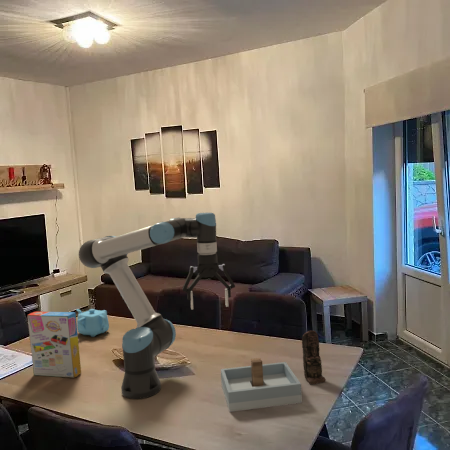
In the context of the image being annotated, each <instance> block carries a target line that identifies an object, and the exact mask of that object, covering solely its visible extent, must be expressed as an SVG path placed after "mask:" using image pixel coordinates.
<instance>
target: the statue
mask: <svg viewBox="0 0 450 450" xmlns="http://www.w3.org/2000/svg"><path fill="white" fill-rule="evenodd" d="M301 345H302V346H301V347H302V361H303V363H302V364H303V373H304V375H303V376H304V379H305V380H306V382H307V383H308V385H317V384H321V383H325V382H326V378H325V377H324V376H323V368H322V367H323V366H322V365H323V364H322V359H321V356H320V341H319V335H318V333H317V331H315V330H308V331H306V332H304V334H303V335H302V337H301Z"/></svg>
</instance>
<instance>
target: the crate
mask: <svg viewBox="0 0 450 450" xmlns="http://www.w3.org/2000/svg"><path fill="white" fill-rule="evenodd" d="M262 365H263V386H255V387H252V371H251V365H248V366H247V365H246V366H236V367H229V368H220V379H221V380H220V381H221V390H222V393H223V395H224V399H225V403H226V405H227V409H228V411H229V413H231V412H239V411H247V410H256V409H263V408H271V407H272V408H273V407H279V406H286V405H288V404H289V405H296V403H297V404H302V403H303V401H302V400H303V396H302V383H301V382H300V380H299V379H298V377H297V375H295V373H294V372H293V370H292V369H291V368H290V366H289V365H288V363H287V361H282V362H281V361H280V362H274V363H273V362H272V363H262Z"/></svg>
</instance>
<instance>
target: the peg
mask: <svg viewBox="0 0 450 450" xmlns="http://www.w3.org/2000/svg"><path fill="white" fill-rule="evenodd" d="M262 364H263V360H262V358H261V357H256V358H251V359H250V366H251V371H252V387H255V386H263V365H262Z"/></svg>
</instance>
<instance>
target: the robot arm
mask: <svg viewBox="0 0 450 450" xmlns="http://www.w3.org/2000/svg"><path fill="white" fill-rule="evenodd" d="M216 219H217V218H216V214H215V213H214V212H198V213H196V214H195V217H194V218H192V217H188V218H187V217H186V218H185V217H174V218H173V217H172V218H170V219H169V220H167V221H160V222H156V223H154V224H152V225H149V226H147V227H143V228H140V229H136V230H132V231H129V232H127V233H123V234H121V235H106V236H103V237H99V238H95V239H90V240H87V241H85V242H84V243H82V245H81V246H80V247H79V250H78V258H79V261H80V262H81V264H82V265H84V266H85V267H87V268H90V269H97V268H101V270H102V271H103V273H104V274H108V275H109V277H110V278H111V280H112V281H113V283H114V285H115V287H116V288H117V291H118V292H119V293H120V296H121V297H122V300H124V303H125V304H126V306H127V307H128V310H129V311H130V313H131V314H132V317H133V318H134V320H135V322H136V324H137V326H136V328H131V329H130V330H128V331H126V332H125V333H124V334H123V336H122V341H121V342H122V344H121V346H122V347H121V348H122V357H123V366H124V374H123V379H122V382H121V394H122V396H123V397H124V398H127V399H130V400H131V399H132V400H133V399H134V400H139V399H141V400H142V399H147V398H149V397H152V396H155V395H157V393H160V390H161V389H162V386H161V385H162V384H161V380H160V378H159V374H158V373H157V371H156V367H155V366H156V365H155V364H156V363H155V357H156V356H158V355H159V354H161V353H162V352H164V351H166V350H167V349H169V348H170V346H172V345H173V343H174V342H175V340H176V335H177V333H176V332H177V331H176V327H175V325H174V324H173V323H172V322H171V321H170V320H168V319H167V318H166V319H165V318H163V315H162V314H161V313H159V312H156V311H155V310H154V308H153V306H152V304H151V303H150V301H149V299H148V297H147V295H146V294H145V292H144V290H143V288H142V287H141V285H140V283H139V282H138V280H137V279H136V277H135V275H134V273H133V271H132V269H131V268H130V265H129V264H128V263H129V257H128V254H131V253H135V252H138V251H141V250H145V249H148V248H151V247H155V246H158V245H163V244H167V243H169V242H173V241H177V240H179V239H180V240H181V239H184V238H195V239H196V247H197V248H196V249H197V253H198V254H197V266H193V265H190V266H189V272H188V273H187V274H188V275H187V277H186V279H185V281H184V284H183V286H182V291H183V292H186V293H187V297H186V298H187V301H189V302H190V310H194V297H193V296H194V294H193V289H194V288H195V287H196V285H197V284H198V283H199V282H200V281H201V279H203V278H204V279H207V278H213V277H215V278H217V279H218V281H219V282H220V283H221V284H222V285H223V286H224V287H225V288H224V298H225V299H224V300H225V307H226V308H227V307H228V308H229V298H231V297H232V295H231V294H232V293H231V291H232V289H234V288H236V284H235V283H234V281H233V279H232V278H231V276H230V274H229V273H228V270H227V265H226V263H222V264H219V263H218V253H217V252H218V247H217V244H218V243H217V220H216ZM219 269H220V270H221V271H222V272H223V273H224V275H225V277H226V279H227V280H228V282H229V284H228V283H227V282H226V281H225V279H224V278H222V276H221V275H220V274H219V273H218V271H219ZM196 271H197V272H198V274H197V275H196V277H195V278H194V280H193V281H192V282H191V280H192V278H193V275H194V273H196ZM190 282H191V283H190ZM189 284H190V285H189Z"/></svg>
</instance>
